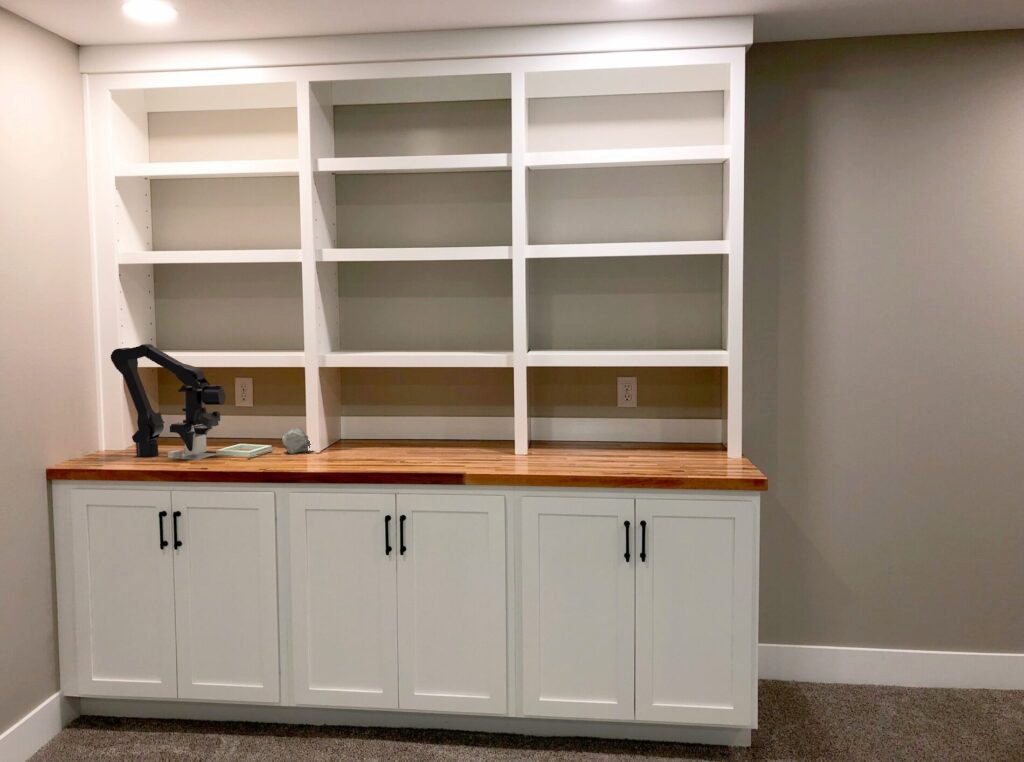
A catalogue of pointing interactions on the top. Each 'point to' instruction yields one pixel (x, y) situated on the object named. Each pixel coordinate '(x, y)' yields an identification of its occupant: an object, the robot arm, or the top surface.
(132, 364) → the robot arm
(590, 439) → the top surface
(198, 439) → the large white cube
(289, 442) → the stone
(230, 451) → the bin
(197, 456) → the slate board
